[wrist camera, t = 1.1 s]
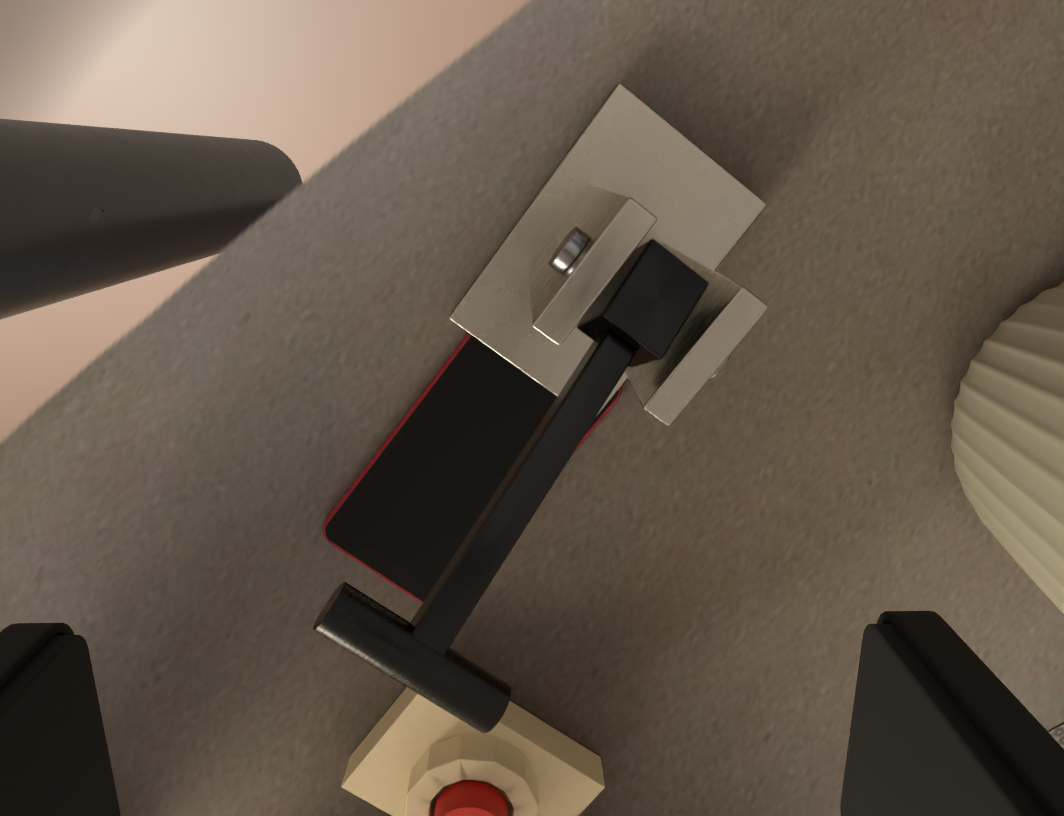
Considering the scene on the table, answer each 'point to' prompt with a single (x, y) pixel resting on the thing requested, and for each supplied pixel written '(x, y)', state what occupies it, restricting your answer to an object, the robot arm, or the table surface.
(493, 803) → the button
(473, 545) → the lever
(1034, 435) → the canister
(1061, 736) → the architectural model
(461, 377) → the smartphone
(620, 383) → the bracket
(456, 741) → the control block
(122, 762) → the table surface
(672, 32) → the table surface
